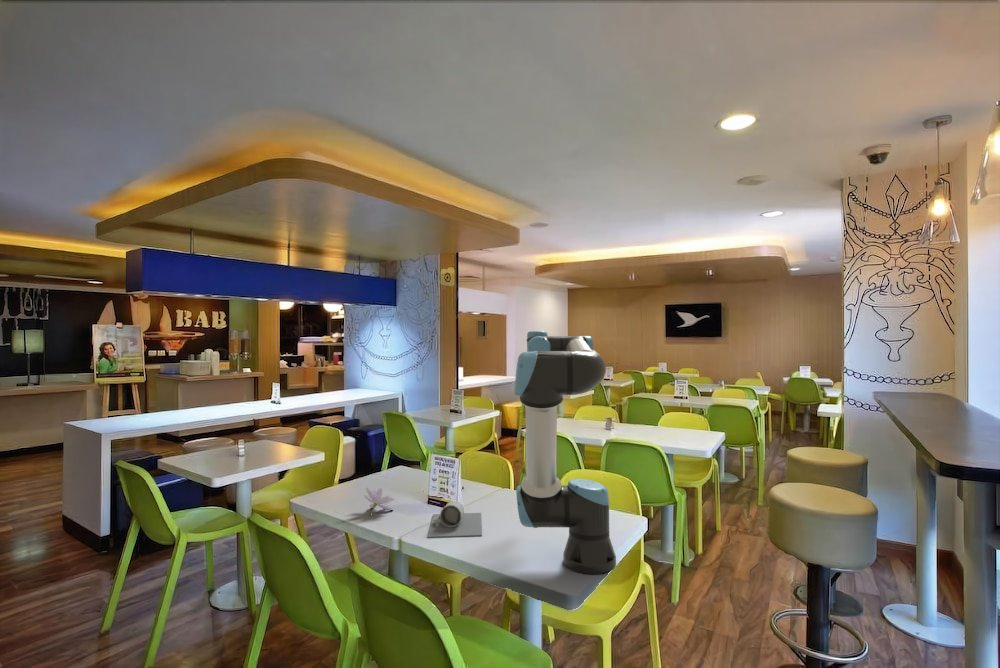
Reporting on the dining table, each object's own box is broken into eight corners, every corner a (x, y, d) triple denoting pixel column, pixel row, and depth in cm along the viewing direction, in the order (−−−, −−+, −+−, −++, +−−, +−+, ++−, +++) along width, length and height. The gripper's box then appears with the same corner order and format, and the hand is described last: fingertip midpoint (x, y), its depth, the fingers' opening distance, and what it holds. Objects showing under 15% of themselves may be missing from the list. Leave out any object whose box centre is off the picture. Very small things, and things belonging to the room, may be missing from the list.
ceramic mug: (465, 519, 183) (464, 498, 184) (461, 527, 175) (460, 505, 175) (436, 519, 184) (435, 498, 185) (431, 527, 176) (430, 505, 176)
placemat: (481, 536, 169) (481, 534, 169) (427, 537, 168) (427, 536, 168) (481, 513, 191) (481, 512, 191) (433, 515, 190) (433, 514, 190)
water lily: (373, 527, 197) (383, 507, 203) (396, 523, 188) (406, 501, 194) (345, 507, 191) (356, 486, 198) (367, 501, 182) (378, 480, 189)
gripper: (553, 376, 170) (554, 439, 170) (543, 371, 195) (544, 426, 195) (531, 376, 170) (532, 439, 170) (524, 372, 195) (524, 427, 195)
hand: (538, 433), depth 182 cm, fingers open, 13 cm apart
